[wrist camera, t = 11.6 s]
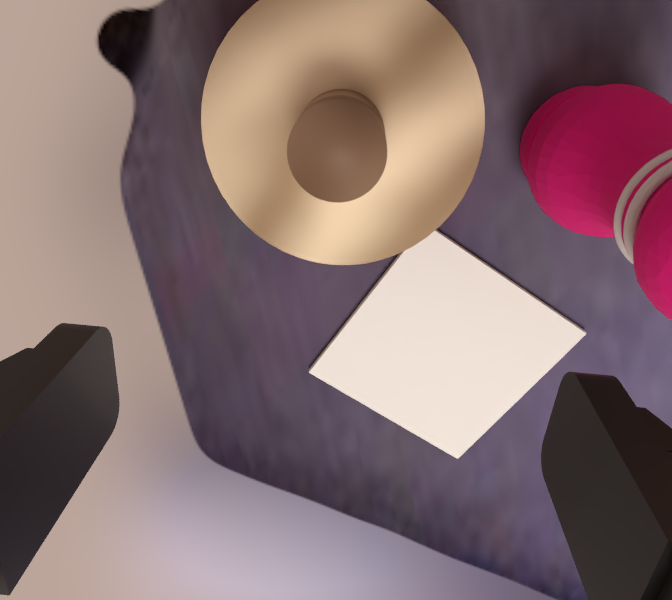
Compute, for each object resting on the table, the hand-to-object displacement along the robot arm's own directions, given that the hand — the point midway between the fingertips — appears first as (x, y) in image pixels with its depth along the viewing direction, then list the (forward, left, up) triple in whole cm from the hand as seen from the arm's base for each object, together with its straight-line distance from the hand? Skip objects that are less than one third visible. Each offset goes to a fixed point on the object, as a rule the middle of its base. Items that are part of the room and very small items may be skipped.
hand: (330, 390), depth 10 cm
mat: (-13, +8, -25) cm, 29 cm away
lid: (+1, -1, -19) cm, 19 cm away
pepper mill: (-10, -6, -25) cm, 28 cm away
